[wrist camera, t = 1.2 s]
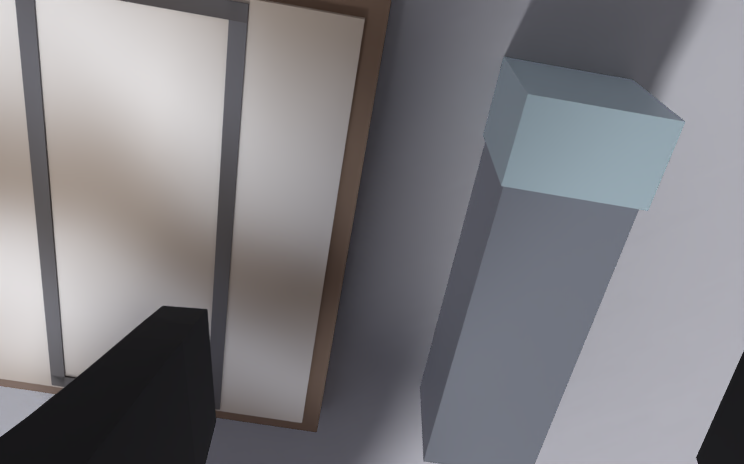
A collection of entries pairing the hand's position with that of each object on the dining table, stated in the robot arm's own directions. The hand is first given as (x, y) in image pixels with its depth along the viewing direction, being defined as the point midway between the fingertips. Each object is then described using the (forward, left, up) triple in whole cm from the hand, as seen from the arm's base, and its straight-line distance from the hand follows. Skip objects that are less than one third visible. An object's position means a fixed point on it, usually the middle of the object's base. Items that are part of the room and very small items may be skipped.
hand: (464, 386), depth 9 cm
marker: (-3, -3, -9) cm, 10 cm away
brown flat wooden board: (-3, +7, -9) cm, 12 cm away
